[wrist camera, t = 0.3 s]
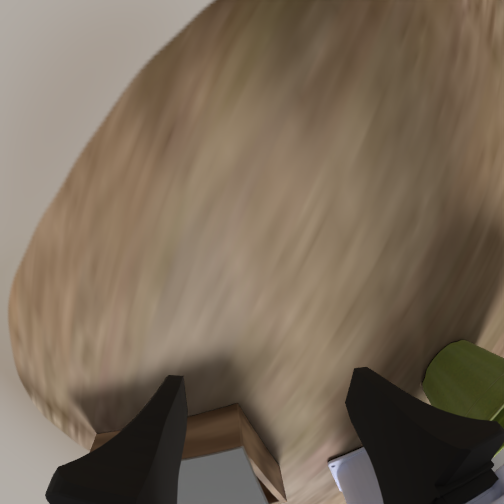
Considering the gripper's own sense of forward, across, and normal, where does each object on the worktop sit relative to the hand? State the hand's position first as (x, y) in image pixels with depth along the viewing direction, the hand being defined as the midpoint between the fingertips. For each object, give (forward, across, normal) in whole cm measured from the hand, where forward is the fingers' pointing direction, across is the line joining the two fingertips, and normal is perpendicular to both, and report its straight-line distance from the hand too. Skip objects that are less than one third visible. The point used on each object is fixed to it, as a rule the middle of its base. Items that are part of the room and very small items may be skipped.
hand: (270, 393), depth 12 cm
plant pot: (+10, -22, +9) cm, 26 cm away
